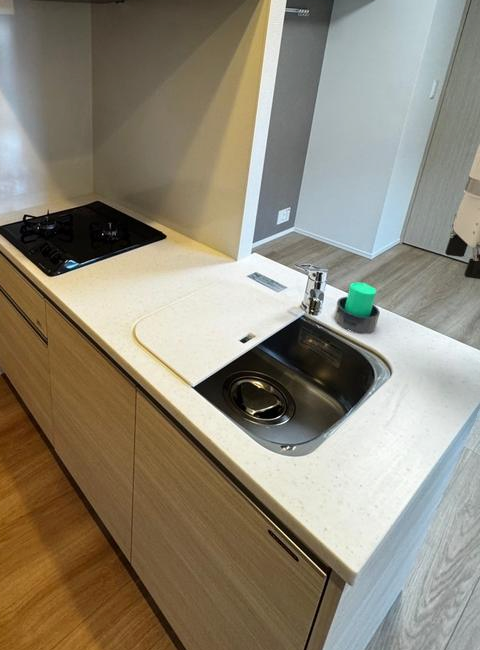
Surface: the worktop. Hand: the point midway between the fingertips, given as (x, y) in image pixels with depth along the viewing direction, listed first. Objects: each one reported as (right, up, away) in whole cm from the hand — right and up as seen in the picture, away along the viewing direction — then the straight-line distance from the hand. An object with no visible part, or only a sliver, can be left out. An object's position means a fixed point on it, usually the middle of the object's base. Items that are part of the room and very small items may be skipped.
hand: (463, 266), depth 86 cm
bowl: (-5, -20, +28) cm, 34 cm away
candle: (-5, -19, +28) cm, 34 cm away
